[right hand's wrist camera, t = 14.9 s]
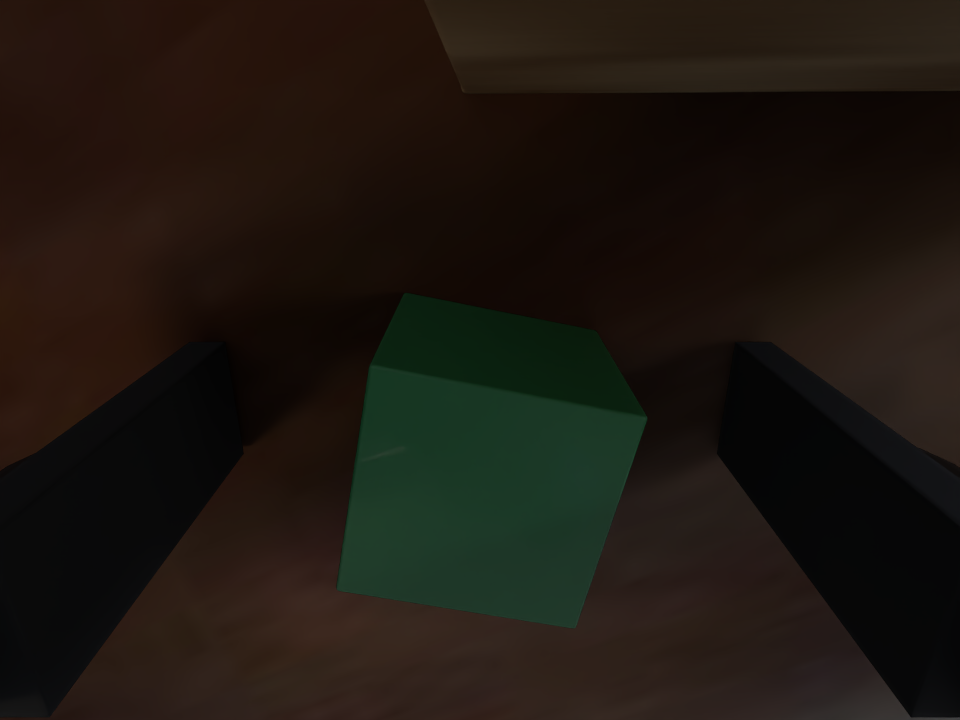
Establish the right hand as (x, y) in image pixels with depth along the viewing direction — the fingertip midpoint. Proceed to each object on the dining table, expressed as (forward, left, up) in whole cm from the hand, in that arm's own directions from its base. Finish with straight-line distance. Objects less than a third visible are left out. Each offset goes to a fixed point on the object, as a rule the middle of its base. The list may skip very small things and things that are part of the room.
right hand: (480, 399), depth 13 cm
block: (0, 0, 0) cm, 0 cm away
